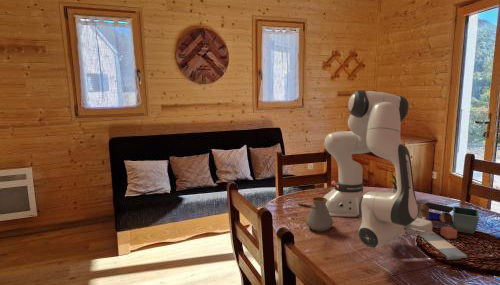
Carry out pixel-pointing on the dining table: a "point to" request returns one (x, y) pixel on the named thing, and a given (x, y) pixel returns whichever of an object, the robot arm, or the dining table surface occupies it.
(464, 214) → the flower pot
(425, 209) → the pawn
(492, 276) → the dining table surface
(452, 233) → the salmon red cube
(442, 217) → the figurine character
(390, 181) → the house plant
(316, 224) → the coffee pot
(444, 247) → the track
